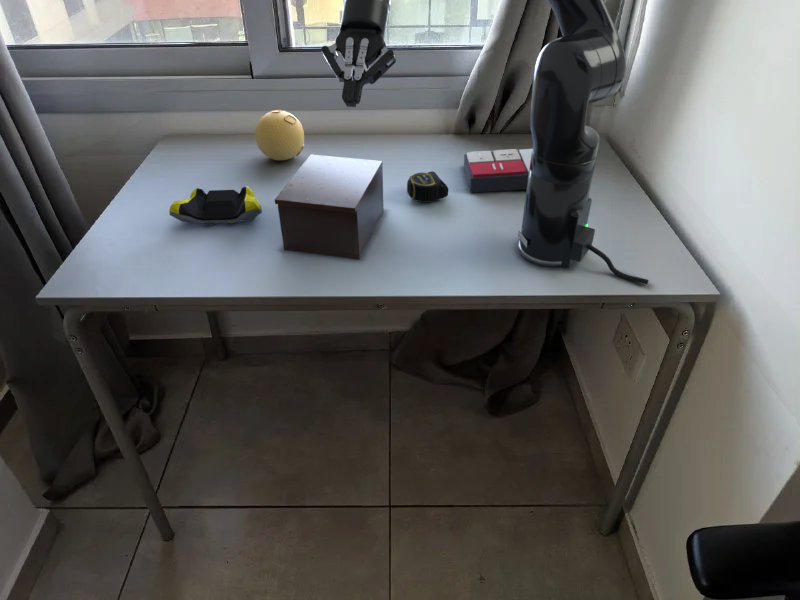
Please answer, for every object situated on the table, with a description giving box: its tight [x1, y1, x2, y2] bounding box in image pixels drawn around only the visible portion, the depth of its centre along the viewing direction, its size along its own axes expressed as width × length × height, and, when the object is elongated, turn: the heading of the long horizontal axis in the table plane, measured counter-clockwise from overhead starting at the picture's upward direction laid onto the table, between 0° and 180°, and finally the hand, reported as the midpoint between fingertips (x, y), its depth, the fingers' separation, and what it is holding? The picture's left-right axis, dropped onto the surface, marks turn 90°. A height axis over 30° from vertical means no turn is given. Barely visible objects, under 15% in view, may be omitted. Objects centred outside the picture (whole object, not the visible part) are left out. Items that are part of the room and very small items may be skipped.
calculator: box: [463, 148, 532, 193], centre depth 120 cm, size 11×4×15 cm
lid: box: [274, 153, 383, 213], centre depth 100 cm, size 17×13×1 cm
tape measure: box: [406, 170, 449, 203], centre depth 114 cm, size 7×7×4 cm
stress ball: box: [254, 109, 305, 161], centre depth 126 cm, size 10×10×10 cm
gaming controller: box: [169, 185, 263, 226], centre depth 107 cm, size 15×6×10 cm
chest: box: [277, 165, 385, 260], centre depth 103 cm, size 16×13×9 cm
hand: (350, 104), depth 102 cm, fingers closed
